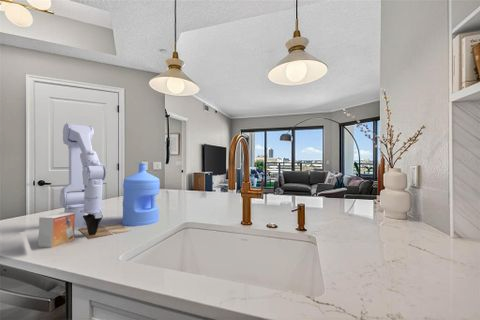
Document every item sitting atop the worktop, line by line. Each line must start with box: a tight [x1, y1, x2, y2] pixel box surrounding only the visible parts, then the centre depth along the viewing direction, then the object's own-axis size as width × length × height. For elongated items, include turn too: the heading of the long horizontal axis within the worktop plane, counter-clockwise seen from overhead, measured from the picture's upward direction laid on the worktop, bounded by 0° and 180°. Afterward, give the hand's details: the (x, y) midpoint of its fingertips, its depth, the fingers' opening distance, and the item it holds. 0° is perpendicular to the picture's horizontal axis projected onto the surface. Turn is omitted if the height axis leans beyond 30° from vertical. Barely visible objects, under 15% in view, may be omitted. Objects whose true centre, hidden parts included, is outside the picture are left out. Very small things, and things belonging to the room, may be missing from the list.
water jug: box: [121, 162, 161, 227], centre depth 107 cm, size 16×16×28 cm
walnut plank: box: [77, 225, 114, 240], centre depth 89 cm, size 16×8×1 cm, turn 46°
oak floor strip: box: [101, 222, 132, 235], centre depth 95 cm, size 16×6×1 cm, turn 46°
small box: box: [37, 211, 75, 249], centre depth 77 cm, size 8×6×10 cm
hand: (92, 234), depth 85 cm, fingers closed
